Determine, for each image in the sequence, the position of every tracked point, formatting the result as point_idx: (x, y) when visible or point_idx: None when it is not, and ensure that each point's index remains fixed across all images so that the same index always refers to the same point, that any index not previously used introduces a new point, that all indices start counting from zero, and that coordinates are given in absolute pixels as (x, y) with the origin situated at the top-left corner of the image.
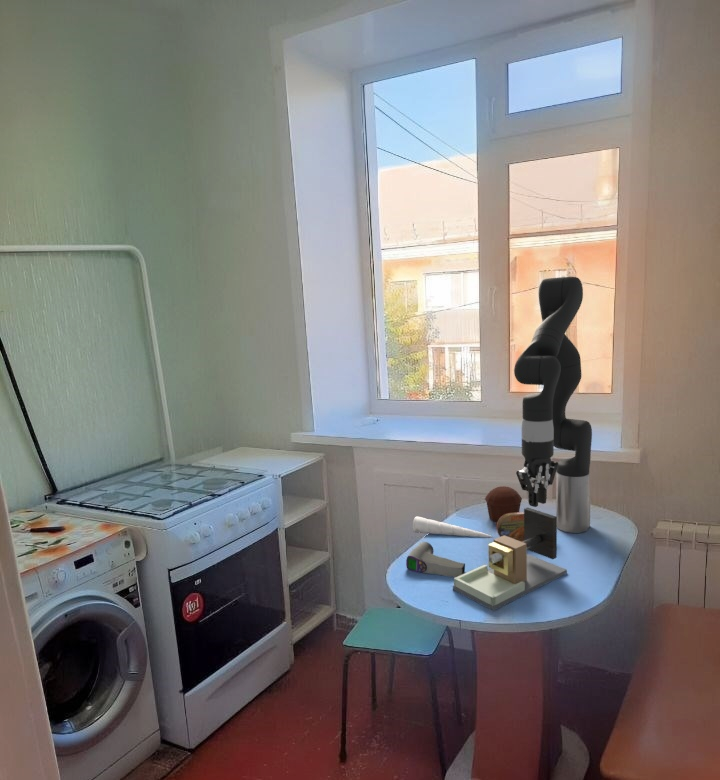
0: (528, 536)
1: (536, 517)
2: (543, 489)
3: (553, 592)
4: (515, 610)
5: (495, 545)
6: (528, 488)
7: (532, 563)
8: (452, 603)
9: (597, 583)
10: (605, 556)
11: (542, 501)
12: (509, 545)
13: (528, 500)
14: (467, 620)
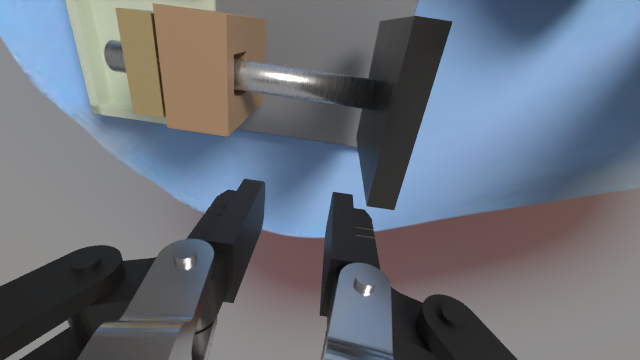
0: (382, 44)
1: (386, 107)
2: (326, 306)
3: (276, 164)
4: (155, 141)
5: (133, 40)
6: (54, 346)
7: (360, 61)
8: (41, 4)
9: (372, 211)
10: (524, 176)
11: (327, 230)
12: (167, 95)
13: (213, 202)
14: (38, 86)
